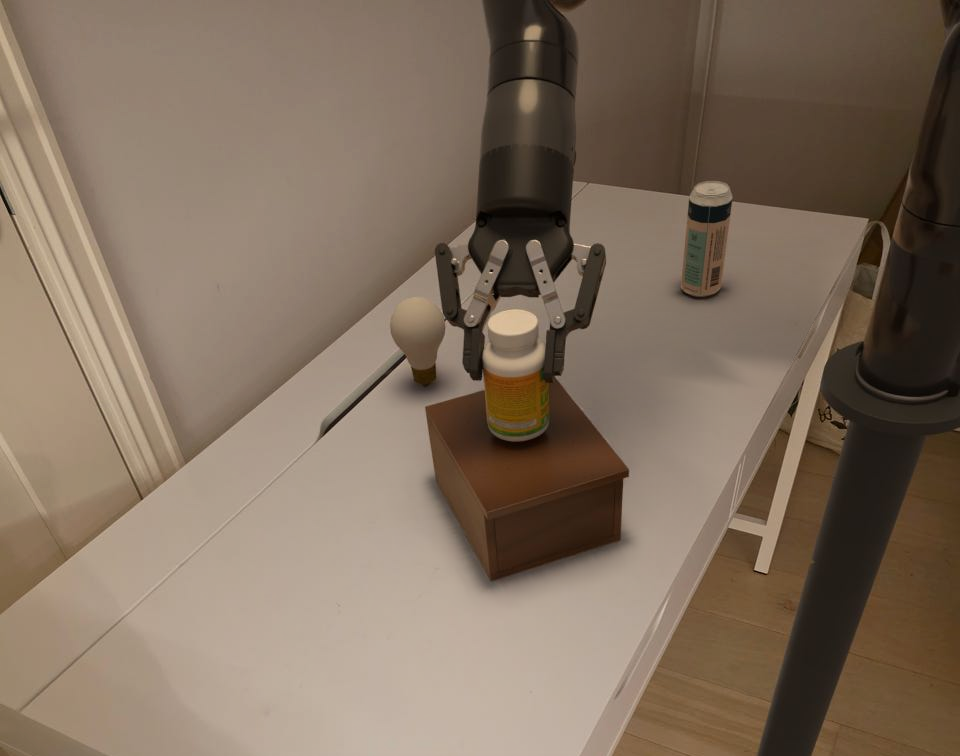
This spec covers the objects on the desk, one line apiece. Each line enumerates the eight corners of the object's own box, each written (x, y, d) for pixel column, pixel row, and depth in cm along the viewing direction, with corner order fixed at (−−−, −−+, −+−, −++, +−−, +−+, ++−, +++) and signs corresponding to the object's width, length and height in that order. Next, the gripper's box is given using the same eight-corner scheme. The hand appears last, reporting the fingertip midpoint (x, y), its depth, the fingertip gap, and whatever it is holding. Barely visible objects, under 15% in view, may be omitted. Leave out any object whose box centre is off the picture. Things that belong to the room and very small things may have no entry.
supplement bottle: (553, 440, 75) (551, 335, 67) (490, 446, 75) (481, 343, 67) (545, 403, 78) (542, 300, 71) (485, 410, 78) (476, 308, 71)
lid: (629, 477, 73) (629, 469, 72) (487, 520, 71) (487, 512, 70) (550, 378, 83) (550, 371, 83) (425, 413, 81) (424, 406, 81)
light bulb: (404, 370, 101) (391, 287, 94) (455, 369, 100) (445, 285, 93) (396, 399, 97) (381, 315, 90) (448, 399, 96) (438, 313, 89)
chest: (620, 540, 79) (624, 471, 73) (490, 581, 77) (483, 513, 71) (552, 446, 89) (550, 379, 83) (435, 480, 87) (425, 414, 81)
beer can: (721, 281, 109) (734, 179, 100) (719, 300, 106) (732, 197, 97) (682, 279, 110) (691, 179, 101) (678, 298, 107) (688, 196, 98)
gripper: (427, 141, 67) (414, 366, 68) (616, 137, 65) (599, 371, 66) (448, 184, 74) (436, 387, 76) (618, 182, 72) (603, 392, 73)
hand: (512, 378), depth 71 cm, fingers closed on supplement bottle, 5 cm apart
